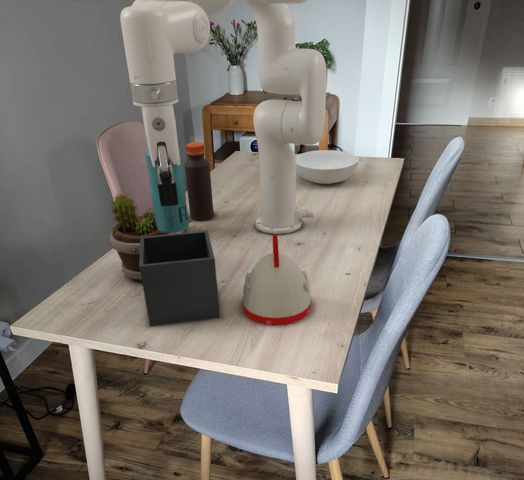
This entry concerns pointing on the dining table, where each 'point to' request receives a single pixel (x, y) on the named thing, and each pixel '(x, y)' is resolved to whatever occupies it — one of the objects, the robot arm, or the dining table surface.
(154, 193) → the beverage bottle
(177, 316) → the waste bin
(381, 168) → the dining table surface
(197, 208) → the vinegar
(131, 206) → the flowerpot
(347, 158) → the serving bowl
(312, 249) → the dining table surface
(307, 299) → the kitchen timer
